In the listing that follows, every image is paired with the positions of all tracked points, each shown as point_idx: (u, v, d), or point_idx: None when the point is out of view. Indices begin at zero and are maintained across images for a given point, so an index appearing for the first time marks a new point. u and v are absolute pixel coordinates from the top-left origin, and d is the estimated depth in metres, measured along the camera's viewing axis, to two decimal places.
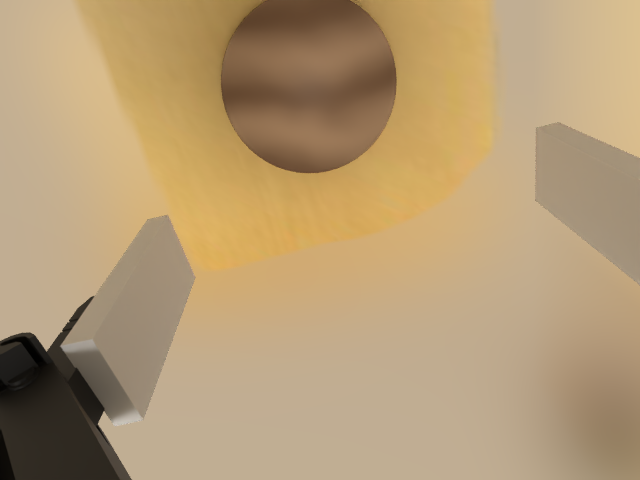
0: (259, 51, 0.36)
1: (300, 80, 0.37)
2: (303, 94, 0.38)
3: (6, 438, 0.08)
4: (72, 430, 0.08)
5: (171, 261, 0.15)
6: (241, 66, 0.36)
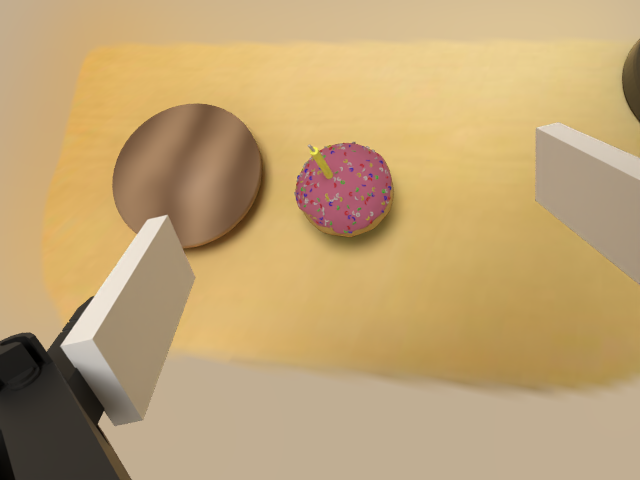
0: (227, 142, 0.43)
1: (194, 166, 0.43)
2: (183, 165, 0.43)
3: (5, 438, 0.08)
4: (72, 430, 0.08)
5: (171, 261, 0.15)
6: (223, 125, 0.44)
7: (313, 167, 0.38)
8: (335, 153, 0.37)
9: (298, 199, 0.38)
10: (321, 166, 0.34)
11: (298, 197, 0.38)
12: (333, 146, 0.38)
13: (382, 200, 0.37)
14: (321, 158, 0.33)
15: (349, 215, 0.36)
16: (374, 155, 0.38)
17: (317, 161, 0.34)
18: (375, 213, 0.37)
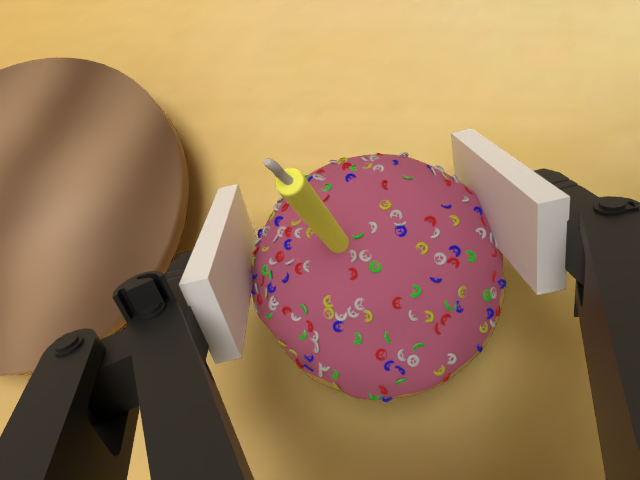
0: (117, 140, 0.20)
1: (41, 190, 0.20)
2: (18, 187, 0.20)
3: (133, 360, 0.09)
4: (186, 365, 0.08)
5: (243, 226, 0.16)
6: (112, 105, 0.20)
7: (297, 214, 0.14)
8: (358, 179, 0.14)
9: (255, 292, 0.15)
10: (314, 227, 0.11)
11: (256, 288, 0.15)
12: (353, 161, 0.15)
13: (482, 320, 0.13)
14: (315, 205, 0.10)
15: (387, 361, 0.13)
16: (460, 191, 0.14)
17: (300, 214, 0.10)
18: (461, 356, 0.13)
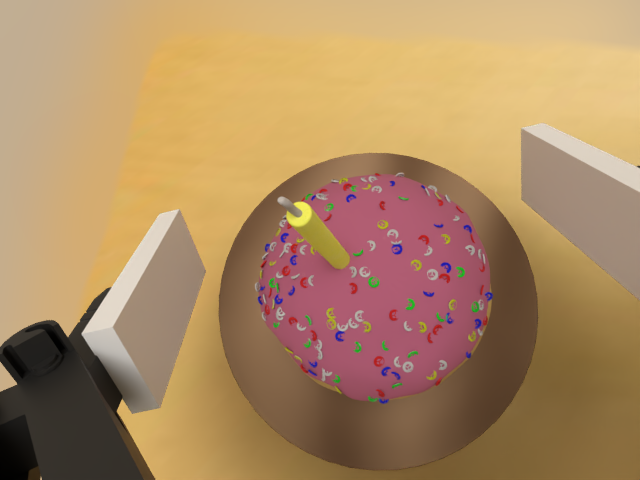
0: None
1: None
2: None
3: (29, 422, 0.08)
4: (92, 417, 0.08)
5: (183, 254, 0.15)
6: None
7: None
8: (358, 200, 0.15)
9: (263, 303, 0.16)
10: (319, 249, 0.12)
11: (264, 299, 0.16)
12: (353, 181, 0.16)
13: (470, 330, 0.14)
14: (321, 232, 0.11)
15: (384, 367, 0.14)
16: (451, 210, 0.16)
17: (307, 240, 0.11)
18: (451, 362, 0.14)
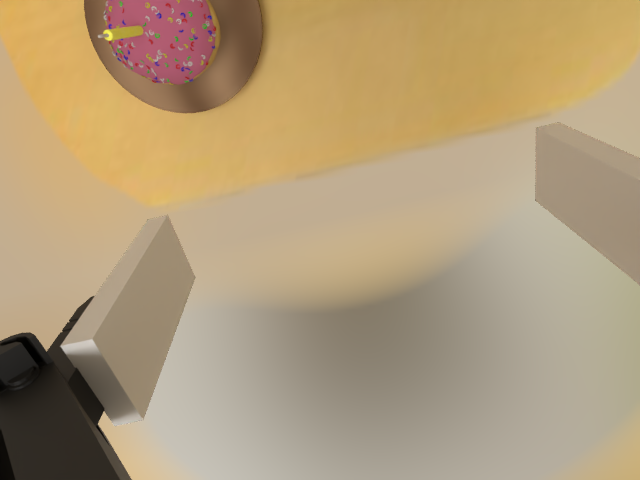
0: None
1: None
2: None
3: (5, 438, 0.08)
4: (71, 431, 0.08)
5: (171, 261, 0.15)
6: None
7: (116, 21, 0.32)
8: None
9: (121, 60, 0.34)
10: (125, 38, 0.30)
11: (120, 58, 0.34)
12: None
13: (208, 37, 0.34)
14: (120, 34, 0.29)
15: (181, 68, 0.34)
16: None
17: (117, 39, 0.29)
18: (207, 53, 0.34)
